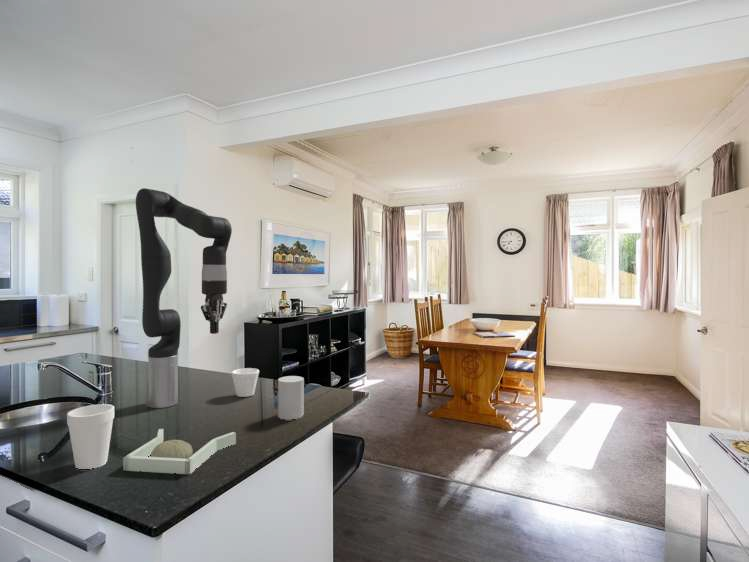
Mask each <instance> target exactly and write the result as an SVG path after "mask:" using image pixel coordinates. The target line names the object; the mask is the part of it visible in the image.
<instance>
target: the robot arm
mask: <svg viewBox="0 0 749 562" xmlns="http://www.w3.org/2000/svg"><path fill="white" fill-rule="evenodd" d="M135 210H136V215H137V216H136V218H137V223H138V229H139V238H140V240H139V241H140V261H141V262H140V263H141V265H140V266H141V275H142V291H143V292H142V296H143V297H142V318H141V321H142V322H141V323H142V324H141V325H142V330H143V332H144V334H145V336H146V337H148V338H158V337H160V339H159V341H158V342H157V343H155V344H153V345H152V346H151V347H149V348H148V352H147V360H148V363H147V364H148V365H147V367H148V372H147V373H148V376H147V377H146V379H145V407H149V408H151V409H152V408H153V409H162V408H163V409H164V408H169V407H172V406H175V405H177V404H178V403H179V402H178V401H179V395H178V393H179V388H178V386H179V377H178V375H179V372H178V371H179V368H178V366H179V364H178V363H179V362H178V361H179V360H178V358H179V354H178V353H179V351H178V350H179V348H180V345H181V343H180V342H181V341H180V340H181V327H182V326H181V325H182V323H181V322H182V321H181V316H180V315H179V312H178V311H177V310H176V309H173V308H172V309H171V308H168V309H167V308H166V309H160V300H161V294H162V293H163V291H164V289H165V286H166V285H167V283H168V281H169V279H170V277H171V274H172V259H171V258H172V256H171V252H170V250H169V247H168V246H167V244H166V243H165V241H164V239H163V238H162V237H161V235H160V234H159V231H158V230H157V226H156V222H155V217H156V218H167V219H168V218H170V219H174V220H175V221H177V223H178V225H179V224H180V225H181V226H182V227H184V228H187V229H189V230H191V231H193V232H194V233H195V234H196V235H198V236H200V237H202V238H205V239H213V243H212V245H208V246H205V247H204V248H203V249H202V267H201V294H202V295H205V299H204V305H202V304H201V306H200V310H201V312H202V314H203V317H204V318H205V321H208V322H209V333H210V334H212V335H214V334H215V335H216V334H218V333H219V330H220V326H219V324H220V321H221V320H222V319H223V317H224V315H225V311H226V309H227V306H228V304H227V302H224V295H226V294H227V293H228V278H227V277H228V270H227V251H228V247H229V244H230V241H231V237H232V231H233V229H232V225H231V223H230V221H229V220H228V219H227V218H225V217H220V216H213V215H208V214H207V213H206V212H204V211H203V210H201V209H198V208H197V207H193V206H190V205H187V204H185V203H183V202H182V201H179V200H178V199H176V198H175V197H174V196H172V195H171V194H169V193H167V192H165V191H161V190H156V189H150V188H144V187H143V188H140V189H139V190H138V191H137V192H136V196H135Z"/></svg>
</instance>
